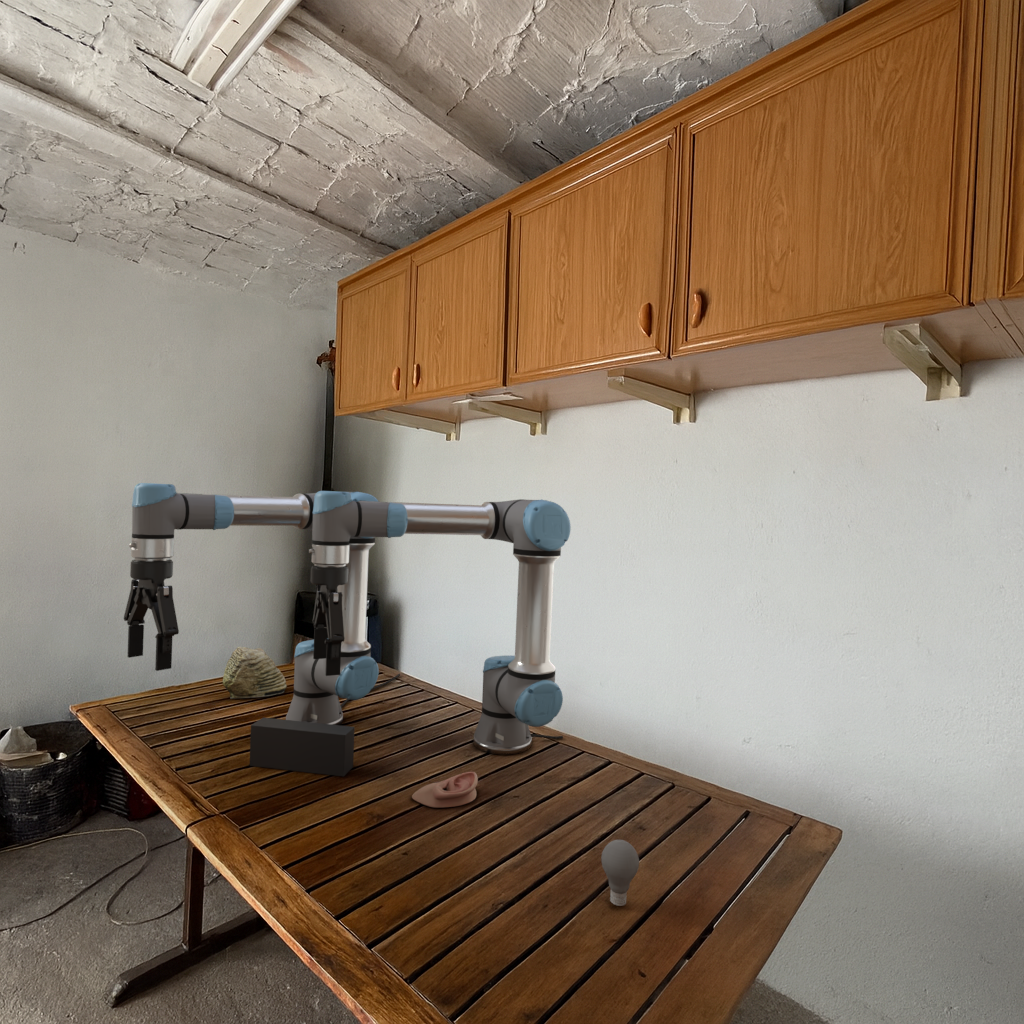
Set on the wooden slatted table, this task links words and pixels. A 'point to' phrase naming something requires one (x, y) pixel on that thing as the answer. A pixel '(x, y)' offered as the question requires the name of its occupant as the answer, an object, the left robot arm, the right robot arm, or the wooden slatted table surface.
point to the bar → (302, 746)
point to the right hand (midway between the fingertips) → (326, 666)
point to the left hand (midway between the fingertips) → (148, 662)
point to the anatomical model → (449, 791)
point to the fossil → (252, 674)
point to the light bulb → (619, 868)
